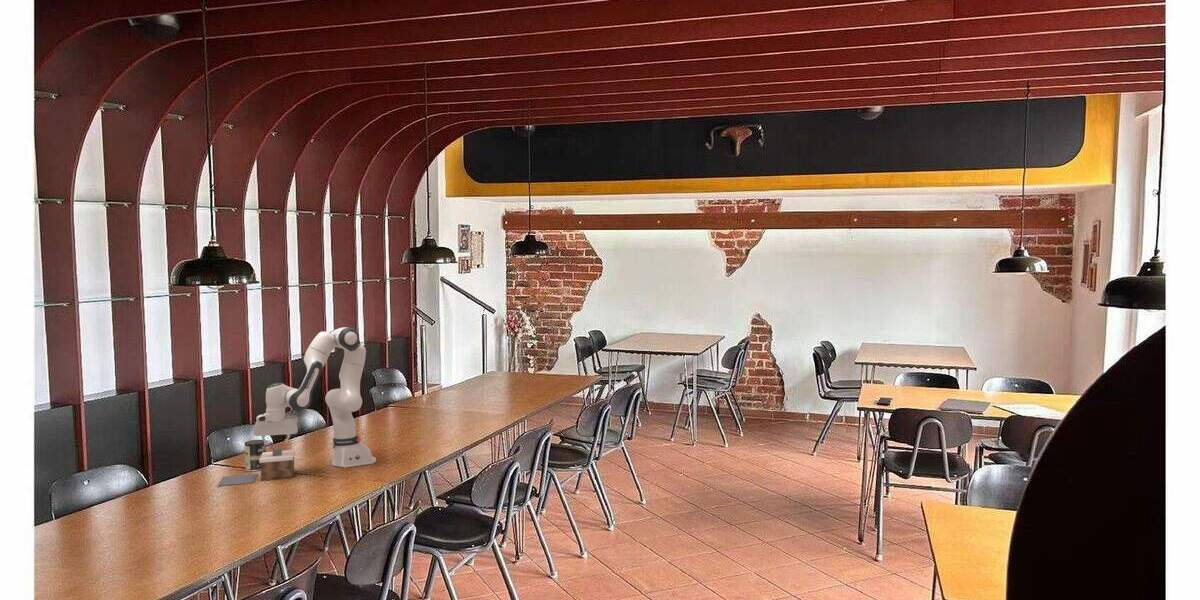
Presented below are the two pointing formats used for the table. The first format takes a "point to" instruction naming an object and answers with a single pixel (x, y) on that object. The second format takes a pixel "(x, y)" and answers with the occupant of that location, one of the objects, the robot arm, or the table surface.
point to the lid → (277, 455)
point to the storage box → (277, 470)
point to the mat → (237, 479)
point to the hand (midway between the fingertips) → (276, 443)
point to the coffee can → (254, 454)
